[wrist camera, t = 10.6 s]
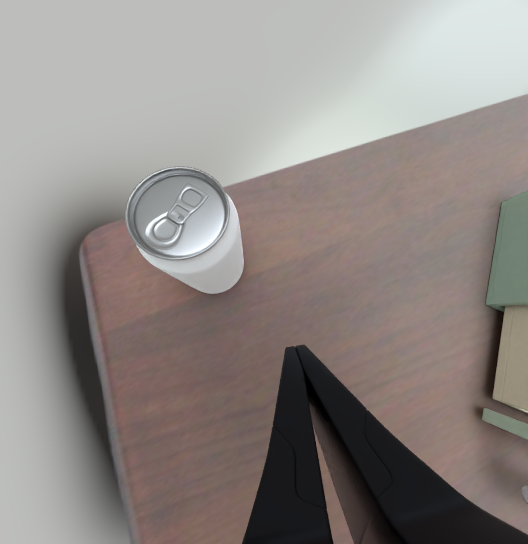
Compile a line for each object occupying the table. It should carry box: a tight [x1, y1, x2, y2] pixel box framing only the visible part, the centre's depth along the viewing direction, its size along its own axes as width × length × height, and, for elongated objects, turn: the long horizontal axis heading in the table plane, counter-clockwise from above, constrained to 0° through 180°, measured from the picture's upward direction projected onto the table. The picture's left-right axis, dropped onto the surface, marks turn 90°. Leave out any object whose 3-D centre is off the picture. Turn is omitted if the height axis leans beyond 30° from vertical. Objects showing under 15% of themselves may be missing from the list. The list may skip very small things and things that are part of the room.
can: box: [125, 167, 244, 294], centre depth 17 cm, size 6×6×12 cm
